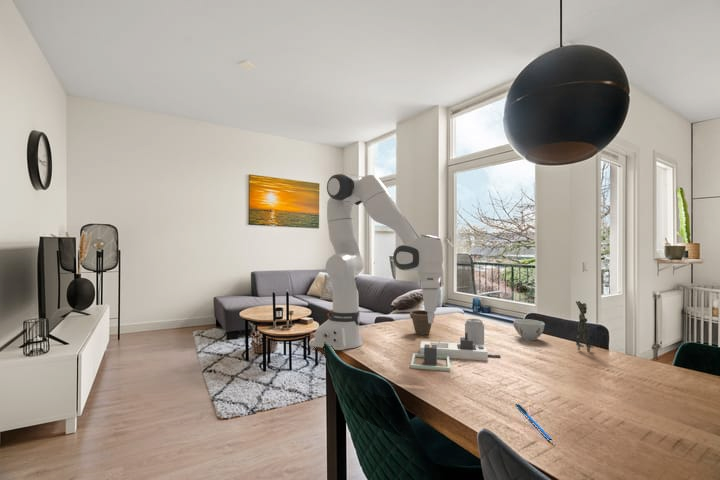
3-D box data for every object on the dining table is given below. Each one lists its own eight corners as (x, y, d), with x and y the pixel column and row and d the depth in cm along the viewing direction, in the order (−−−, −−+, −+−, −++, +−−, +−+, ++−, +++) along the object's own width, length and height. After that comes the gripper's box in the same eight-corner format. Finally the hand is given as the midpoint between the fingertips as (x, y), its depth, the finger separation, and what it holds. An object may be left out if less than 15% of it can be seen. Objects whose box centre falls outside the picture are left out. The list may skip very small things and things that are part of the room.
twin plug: (460, 356, 132) (461, 333, 132) (460, 353, 136) (460, 331, 136) (472, 357, 131) (472, 334, 131) (471, 353, 135) (471, 331, 135)
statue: (596, 354, 139) (595, 302, 139) (577, 352, 141) (577, 301, 141) (592, 350, 143) (592, 300, 143) (574, 349, 145) (574, 300, 145)
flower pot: (409, 335, 165) (409, 314, 165) (410, 330, 176) (410, 309, 176) (434, 337, 163) (434, 315, 163) (433, 331, 174) (433, 310, 174)
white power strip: (420, 358, 133) (420, 345, 133) (421, 350, 142) (421, 339, 142) (502, 364, 127) (502, 351, 127) (498, 356, 136) (498, 344, 136)
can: (481, 346, 148) (481, 318, 148) (486, 352, 140) (486, 322, 140) (463, 346, 148) (463, 317, 149) (466, 351, 141) (466, 321, 141)
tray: (410, 370, 120) (410, 364, 120) (413, 358, 132) (413, 353, 132) (450, 373, 117) (450, 367, 117) (449, 361, 130) (449, 355, 130)
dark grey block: (424, 365, 123) (424, 347, 123) (424, 361, 127) (424, 343, 127) (436, 365, 122) (436, 348, 122) (436, 361, 126) (436, 344, 126)
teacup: (551, 341, 157) (551, 323, 157) (530, 344, 152) (530, 325, 152) (523, 333, 171) (523, 316, 171) (503, 335, 166) (503, 318, 166)
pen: (518, 406, 95) (518, 402, 95) (556, 447, 76) (556, 442, 76) (514, 406, 95) (514, 401, 95) (552, 447, 76) (552, 441, 76)
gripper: (422, 277, 136) (423, 314, 136) (420, 283, 116) (420, 326, 116) (439, 278, 134) (440, 314, 134) (439, 283, 114) (440, 326, 114)
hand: (431, 320), depth 125 cm, fingers open, 8 cm apart
